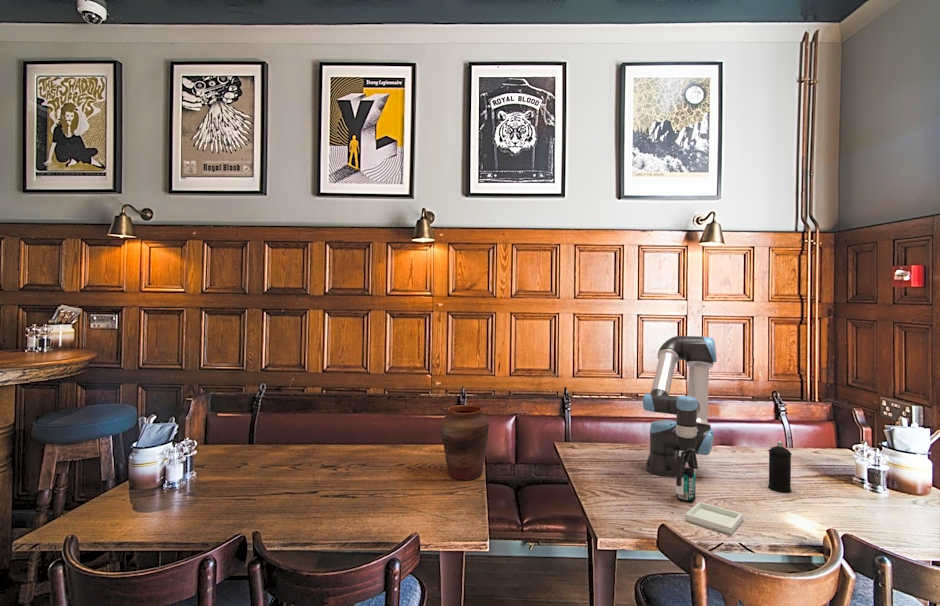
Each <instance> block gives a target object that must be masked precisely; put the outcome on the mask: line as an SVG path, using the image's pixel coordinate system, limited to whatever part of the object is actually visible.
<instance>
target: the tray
mask: <svg viewBox="0 0 940 606" xmlns="http://www.w3.org/2000/svg"><path fill="white" fill-rule="evenodd" d="M684 520H685V522H687V521H688V522H687V523H690V522H691V523H690V524H693V523H694V524H693V525H696V524H697V525H696V526H701V527H703V528H706V529H710V530H713V531H716V532H719V533H723V534H725V535H729V536H733V535H734V533H735V531H736V530H737V529H738V528H739V526H740V525H741V524H742V523H743V522H744V513H742V512H739V511H734V510H730V509H727V508H724V507H720V506H716V505H714V504H713V505H712V504H709V503H705V502H702V501H698V502H697V503H696V504H694V506H693V507H691V508H690V509H689V510H688V511H687V512H686V513H685V519H684Z"/></svg>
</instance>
